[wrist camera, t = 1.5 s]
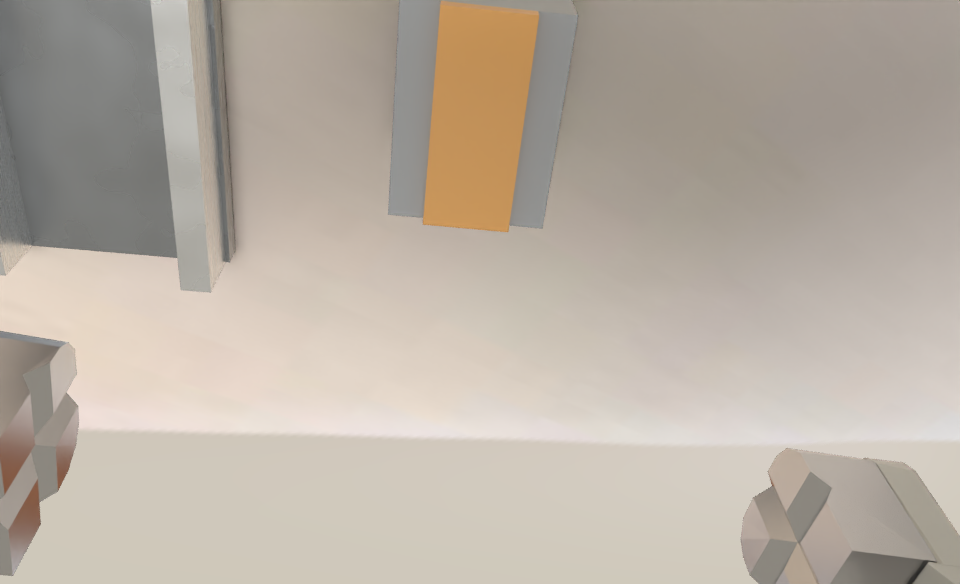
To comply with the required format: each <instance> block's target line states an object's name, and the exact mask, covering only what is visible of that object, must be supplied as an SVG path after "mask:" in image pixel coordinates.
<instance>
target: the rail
mask: <svg viewBox="0 0 960 584" xmlns="http://www.w3.org/2000/svg"><path fill="white" fill-rule="evenodd" d="M32 246H44V247H56V248H68V249H79V250H91V251H103V252H115V253H126V254H138V255H150V256H162V257H173V258H178V268H179V277H180V287H181V290H186V291H198V292H212V290H213V287H214V285H215V283H216V281H217V279H218V277H219V275H220V273H221V271H222V269H223V267H224V264H225V262H230V261H231V259H232V257H233V255H234V253H235V239H234V223H233V206H232V190H231V173H230V157H229V141H228V124H227V108H226V92H225V75H224V59H223V43H222V26H221V10H220V0H0V275H5V276H6V275H7V274H8V273H9V271H10V270H11V269H12V268H13V267H14V266H15V265H16V264H17V262H18V261H19V260H20V259H21V258H22V257H23V256H24V254H25V253H26V252H27V251H28V250H29V249H30V248H31V247H32Z"/></svg>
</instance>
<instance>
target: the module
mask: <svg viewBox="0 0 960 584" xmlns="http://www.w3.org/2000/svg"><path fill="white" fill-rule="evenodd" d="M577 20H578V13H577V11H576V9H575V6H574V4H573V1H572V0H400V1H399V20H398V38H397V57H396V76H395V95H394V114H393V133H392V151H391V170H390V189H389V208H388V215H399V216H410V217H421V218H423V225H434V226H445V227H456V228H467V229H478V230H489V231H500V232H508V230H509V226H520V227H531V228H543V222H544V216H545V210H546V205H547V199H548V193H549V187H550V181H551V175H552V169H553V163H554V157H555V151H556V145H557V139H558V133H559V127H560V121H561V115H562V110H563V104H564V98H565V92H566V86H567V80H568V74H569V68H570V62H571V56H572V50H573V44H574V38H575V32H576V26H577Z"/></svg>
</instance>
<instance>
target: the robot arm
mask: <svg viewBox="0 0 960 584" xmlns="http://www.w3.org/2000/svg"><path fill="white" fill-rule="evenodd" d="M76 375H77V369H76V357H75V349H74V348H73V347H72V346H71V345H70V343H69V342H63V341H57V340H51V339H45V338H39V337H33V336H27V335H21V334H15V333H9V332H3V331H0V575H8V576H13V575H14V573H15V571H16V569H17V567H18V566H19V563H20V562H21V560H22V558H23V556H24V554H25V552H26V551H27V549H28V547H29V545H30V543H31V541H32V539H33V537H34V536H35V534H36V532H37V530H38V528H39V526H40V524H41V523H40V522H41V521H40V506H39V502H41V501H42V500H44V499H46V498H47V497H49V496H51V495H52V494H54V493H56V492H58V490H59V488H60V486H61V484H62V482H63V480H64V478H65V476H66V474H67V472H68V470H69V467H70V463H71V460H72V457H73V453H74V450H75V446H76V442H77V434H78V426H79V415H78V405H77V404H76V403H75V402H74V401H73V399H72V398H71V397H70V396H69V395H68V394H67V390H68V388H69V387H70V385H71V383H72V381H73V380H74V378H75V376H76ZM768 473H769V477H770V480H771V484H772V486H771V487H770V488H768V489H767V490H765V491H764V492H762V493H760V494H758V495H757V496H755V497H754V498H753V499H752V501H751V503H750V505H749V507H748V509H747V511H746V513H745V516H744V518H743V525H742V534H741V545H742V552H743V558H744V561H745V564H746V566H747V569H748V572H749V574H750V576H751V577H752V578H754V579H755V580H756V581H757V582H758V583H759V584H960V536H959V534H958V533H957V531H956V530H955V528H954V527H953V525H952V524H951V522H950V521H949V520H948V518H947V517H946V515H945V514H944V512H943V511H942V509H941V508H940V506H939V505H938V503H937V502H936V500H935V499H934V497H933V496H932V494H931V493H930V492H929V490H928V489H927V487H926V486H925V484H924V483H923V481H922V480H921V478H920V477H919V476H918V474H917V473H916V471H915V470H913V469H912V468H910V467H909V466H908V465H906V464H905V463H903V462H894V461H887V460H879V459H870V458H863V459H860V458H855V457H847V456H840V455H833V454H825V453H819V452H812V451H804V450H798V449H791V448H786V449H785V450H784V451H782V452H781V453H780V454H779V455H777V456H776V458H775V460H774V461H773V463H772V465H771V467H770V468H769V470H768Z"/></svg>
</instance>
